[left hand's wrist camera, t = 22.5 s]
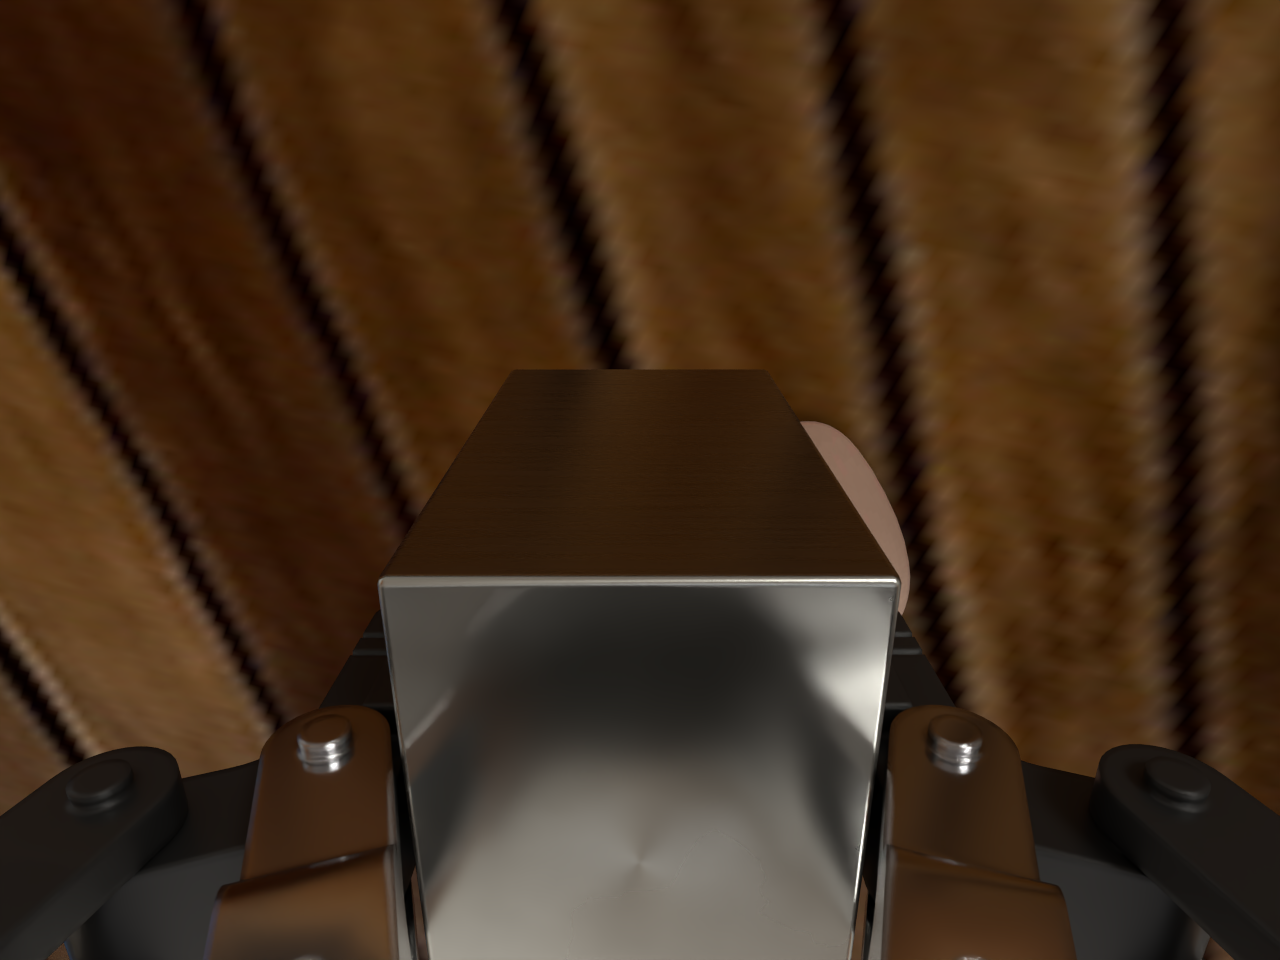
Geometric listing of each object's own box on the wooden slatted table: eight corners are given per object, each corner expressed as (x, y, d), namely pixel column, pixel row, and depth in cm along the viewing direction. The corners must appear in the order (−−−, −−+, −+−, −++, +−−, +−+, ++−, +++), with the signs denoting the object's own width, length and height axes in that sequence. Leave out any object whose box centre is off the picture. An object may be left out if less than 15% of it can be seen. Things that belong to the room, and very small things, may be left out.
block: (528, 674, 16) (440, 1074, 9) (510, 368, 14) (371, 578, 7) (750, 673, 16) (838, 1073, 9) (768, 368, 14) (906, 578, 7)
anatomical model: (796, 392, 21) (1044, 647, 24) (772, 360, 25) (990, 584, 28) (477, 687, 25) (728, 879, 28) (498, 620, 28) (717, 796, 31)
